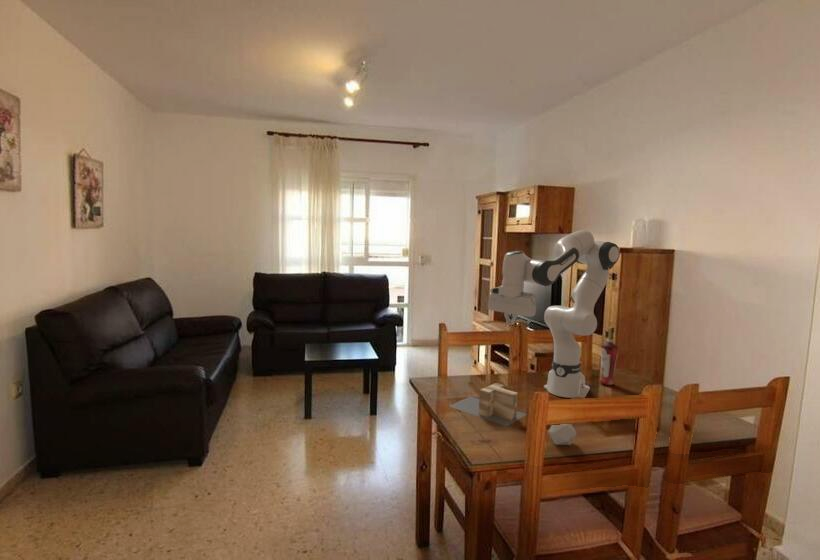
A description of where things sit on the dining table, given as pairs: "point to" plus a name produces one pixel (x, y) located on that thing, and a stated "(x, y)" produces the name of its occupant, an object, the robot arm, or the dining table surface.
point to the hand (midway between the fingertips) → (510, 324)
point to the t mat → (472, 407)
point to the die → (562, 434)
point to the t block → (498, 402)
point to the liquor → (608, 359)
